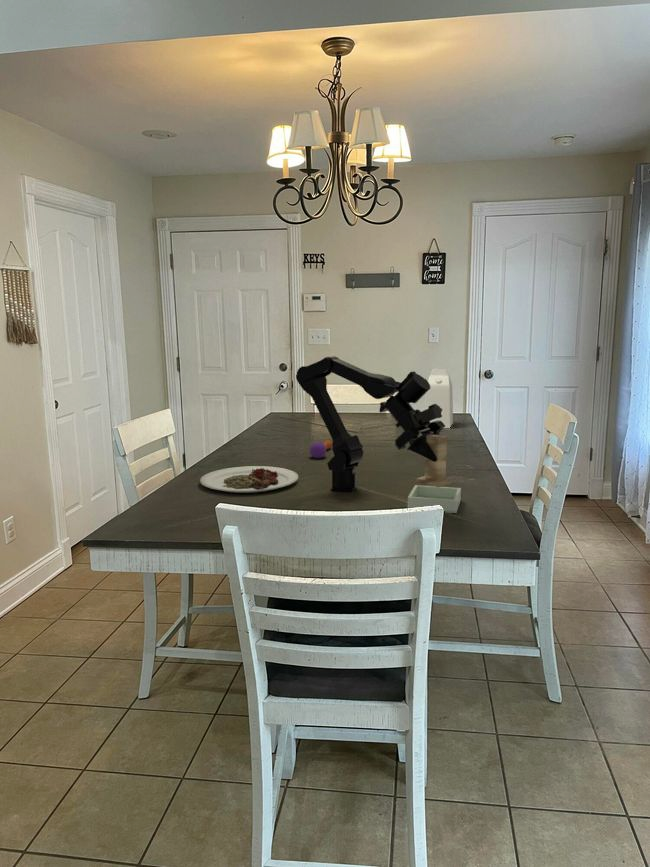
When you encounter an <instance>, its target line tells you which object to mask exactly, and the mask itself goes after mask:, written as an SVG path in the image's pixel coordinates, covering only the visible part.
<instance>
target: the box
mask: <svg viewBox="0 0 650 867" xmlns="http://www.w3.org/2000/svg"><path fill="white" fill-rule="evenodd" d="M461 494H462V488H461V487H450V486H449V487H448V486H442V487H434V486H430V485H421V484H419V485H417V484H415V485H414V487H413V488H412V489H411V491H410V493H409V494H408V496H407V509H408V508H412V507H423V506H433V505H440V506H442V507H443V508H444V511H445V513H444V514H452V513H456V514H457V512H458V509H459V507H460V503H461V500H462V499H461V498H462V497H461V496H462V495H461Z"/></svg>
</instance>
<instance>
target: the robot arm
mask: <svg viewBox="0 0 650 867" xmlns="http://www.w3.org/2000/svg"><path fill="white" fill-rule="evenodd" d="M331 374H335V375H336V376H339V377H341V378H343V379H345V380H347V381H349V382H351V383H354V384H356V385H358V386H359V387H361V388H362V389H363V391H364V392H365V393H366V394H368V395H369V396H371V397H372V398H373V399H376V400H381V399H385V398H387V399H386V401H381V402H380V403H379V404H380V406H379V413H385V412H388V413H389V414H390V415H391V416H392V417H393V419H394V420H395V422H396V424H395V426H396V428H401V429H402V430H403V432H402V433H401V434H399V435H398V437H397V438H395V440H394V446H395V448H397V450H399V451H401V450H404V449H406V447H407V446H406V445H407V444H409V447H407V449H406V450H407V451H411V452H414V453H416V454H418V455H420V456H421V457H424V458H425V457H426V458H428V459H430V460H431V461H433V462H436V461H437V457H436V455H435V454H434V452H433V451H432V449H431V448H430V446H429V445H428V443H427V436H431V435H439V436H440V433H441V432H442V430H444V429H443V428H444V427H445V425H444V424H443V422H442V421H438V420H437V421H434V422H430V421H431V420H434V419H436V418H441V417H442V415H441V412H442V408H440V407H439V406H438V405H437V404H433V405H431V406H429V408H428V409H426V410H424V409H423V410H422V411H421V410H420V409H418V408H417V409H414V407H412V404H417V403H418V401H420V399H422V397H424V396H425V393H426V392H427V391H428V390H429V389H430V384H429V382H428V379H426V378H424V377H423V376H422V375H420V374H418V373H417V372H416V371H415V370H414V371H410V372H409V373H408V374H407V375H406V377H405V378H404V379H403V380H402V381H401V382H400V381H397V380H396V379H395V378H394V377H392V376H388V375H384V374H379V373H373V372H368V371H367V370H364V369H363V368H360V367H357V366H356V365H354V364H352V363H349V362H346V361H345V360H342V359H340V358H339V357H337V356H325V357H324V358H322V359H321V360H319V361H316V362H313V363H311V364H309V365H305V366H304V365H302V366H300V367H299V368H298V369H297V371H296V375H295V379H296V382H297V383H298V384H299V387H301V389H302V390H303V391H304V392H305V393H306V394H308V395H309V396H310V397H311V399H312V400H313V402H314V404H315V407H316V408H317V412H318V414H319V416H320V417H321V419H322V421H323V423H324V425H325V427H326V429H327V432H328V434H329V435H330V437H331V440H332V447H331V449H332V450H331V451H332V452H333V457H331V459H330V460H329V461H327V463H326V464H327V468H328V470H329V471H331V477H332V478H331V487H330V491H338V492H350V493H351V492H353V491H354V490H355V489H356V488H357V487H358V473H357V472H356V468H357V467H359V464H360V461H361V460H362V459H363V456H364V450H363V448H364V446H363V444H362V443H361V441H360V438H359V436H358V435H356V434H355V435H351V434H350V433H349V432H348V431H347V429H346V427H345V425H344V423H343V420H342V418H341V417H340V414H339V413H338V410H337V409H336V406H335V404H334V402H333V400H332V398H331V396H330V394H329V391H328V389H327V382H328V380H327V376H330V375H331ZM426 426H427V427H426Z"/></svg>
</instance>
